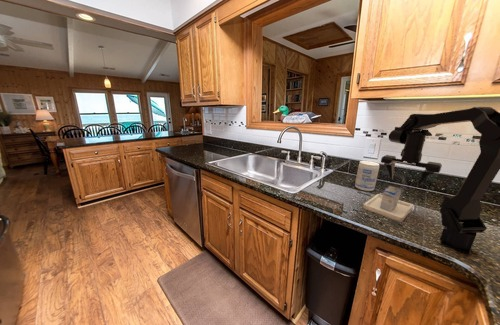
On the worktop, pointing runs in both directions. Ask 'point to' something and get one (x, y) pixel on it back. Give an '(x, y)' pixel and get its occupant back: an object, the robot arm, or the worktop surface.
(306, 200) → the worktop surface
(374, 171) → the supplement tub
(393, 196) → the medicine box
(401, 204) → the dish
